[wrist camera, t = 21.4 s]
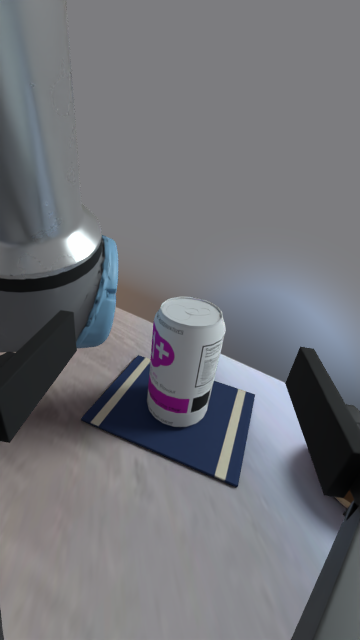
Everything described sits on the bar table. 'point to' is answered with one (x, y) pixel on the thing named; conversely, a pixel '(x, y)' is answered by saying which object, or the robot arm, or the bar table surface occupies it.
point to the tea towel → (178, 442)
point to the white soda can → (184, 359)
